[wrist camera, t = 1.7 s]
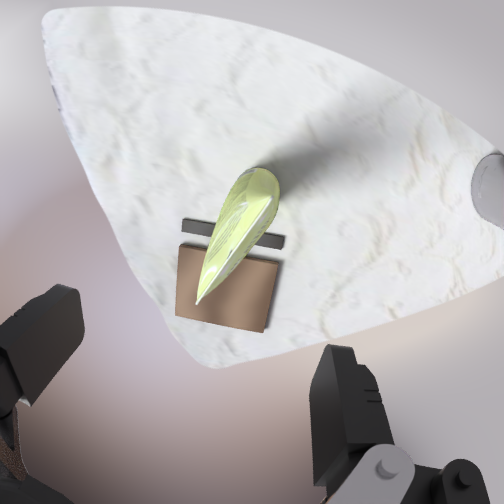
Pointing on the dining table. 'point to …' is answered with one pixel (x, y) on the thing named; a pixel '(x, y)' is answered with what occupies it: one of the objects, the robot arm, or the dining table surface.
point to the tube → (239, 226)
